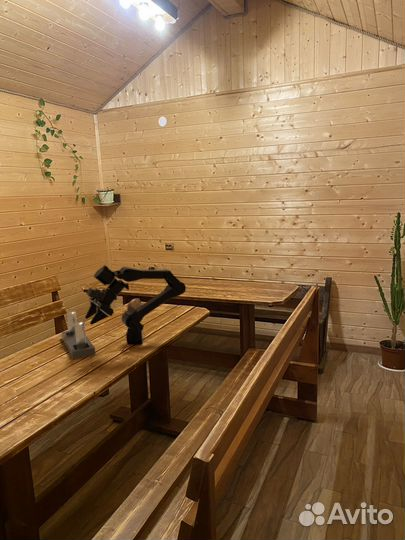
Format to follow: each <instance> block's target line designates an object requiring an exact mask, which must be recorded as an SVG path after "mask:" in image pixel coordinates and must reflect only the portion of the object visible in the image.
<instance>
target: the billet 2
mask: <svg viewBox="0 0 405 540" xmlns="http://www.w3.org/2000/svg"><path fill="white" fill-rule="evenodd" d="M86 333H87V332H86V324H85V321H77V322H76V323H75V334H76V345H77V350H78V349H83V348H87V344H86V336H87V334H86Z"/></svg>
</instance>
